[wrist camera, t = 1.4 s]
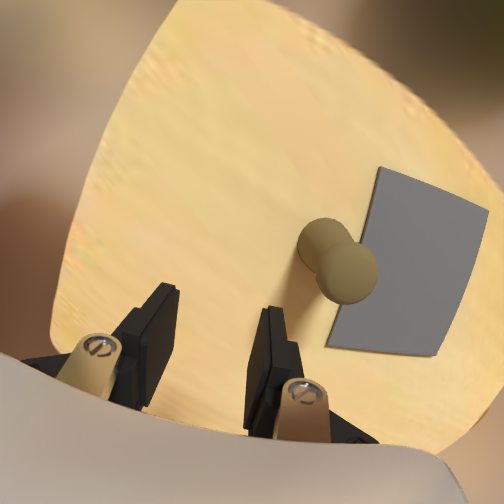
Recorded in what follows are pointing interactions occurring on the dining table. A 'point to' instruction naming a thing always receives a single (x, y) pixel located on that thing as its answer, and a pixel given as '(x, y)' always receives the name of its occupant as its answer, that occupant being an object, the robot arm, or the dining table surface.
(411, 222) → the mat
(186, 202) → the dining table surface
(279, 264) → the dining table surface
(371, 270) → the cork
